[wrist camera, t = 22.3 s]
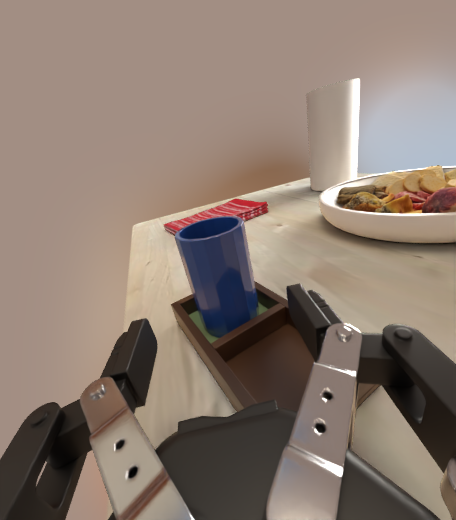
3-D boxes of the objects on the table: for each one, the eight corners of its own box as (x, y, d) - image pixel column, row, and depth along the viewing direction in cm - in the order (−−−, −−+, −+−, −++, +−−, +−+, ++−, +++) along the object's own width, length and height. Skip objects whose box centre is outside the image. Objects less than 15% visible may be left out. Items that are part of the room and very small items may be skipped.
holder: (282, 481, 13) (277, 455, 12) (177, 322, 27) (170, 304, 26) (381, 383, 16) (384, 357, 15) (242, 288, 31) (238, 271, 29)
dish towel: (271, 211, 60) (270, 201, 59) (188, 243, 50) (185, 232, 49) (235, 205, 74) (233, 197, 73) (164, 230, 64) (161, 221, 63)
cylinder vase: (356, 179, 73) (359, 82, 62) (356, 189, 63) (359, 75, 53) (314, 184, 79) (310, 96, 68) (307, 193, 69) (302, 92, 59)
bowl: (293, 216, 53) (290, 180, 50) (414, 186, 55) (419, 149, 52) (408, 277, 26) (419, 207, 23) (637, 213, 28) (677, 140, 25)
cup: (219, 348, 21) (190, 247, 17) (194, 316, 26) (166, 231, 22) (271, 317, 23) (257, 221, 19) (239, 293, 28) (221, 212, 24)
